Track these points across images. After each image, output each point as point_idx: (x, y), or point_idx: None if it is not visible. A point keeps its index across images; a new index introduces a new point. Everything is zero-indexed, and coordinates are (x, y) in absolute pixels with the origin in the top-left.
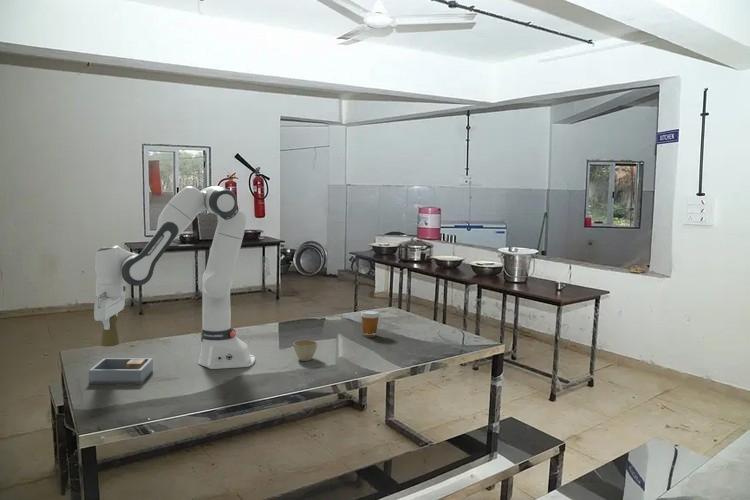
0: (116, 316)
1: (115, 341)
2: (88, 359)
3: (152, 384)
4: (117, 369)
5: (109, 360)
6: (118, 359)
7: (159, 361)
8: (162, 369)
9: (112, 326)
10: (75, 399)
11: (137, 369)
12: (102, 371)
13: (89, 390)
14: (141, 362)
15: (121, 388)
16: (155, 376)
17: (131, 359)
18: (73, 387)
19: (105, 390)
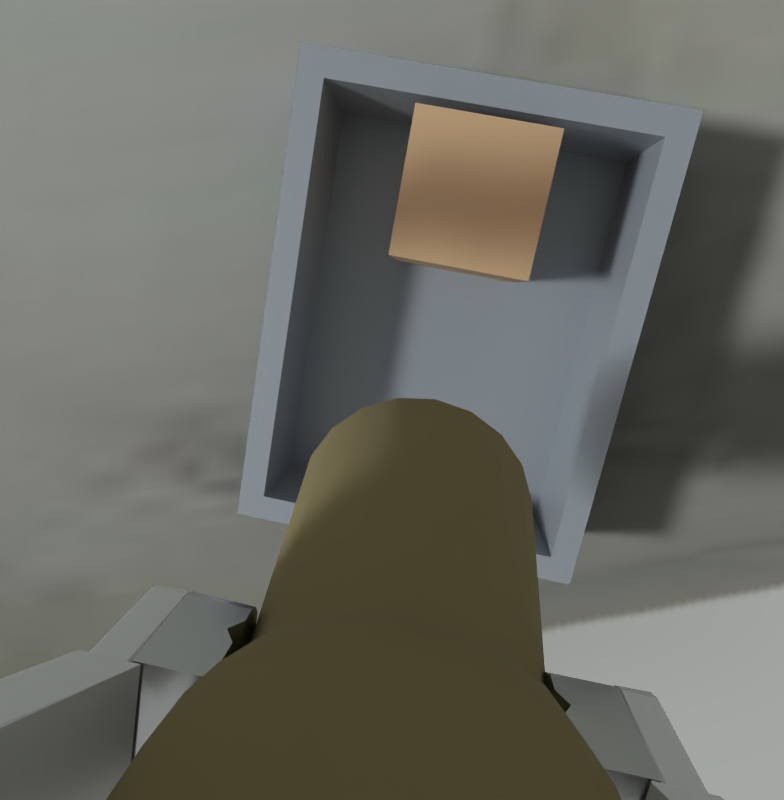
0: (324, 797)
1: (497, 451)
2: (6, 608)
3: (693, 45)
4: (611, 351)
5: (273, 460)
6: (281, 386)
7: (77, 66)
8: (302, 6)
9: (521, 650)
10: None
11: (662, 154)
12: (597, 473)
13: (691, 508)
14: (526, 124)
15: (718, 292)
16: (483, 47)
17: (395, 249)
18: (595, 614)
19: (727, 402)
